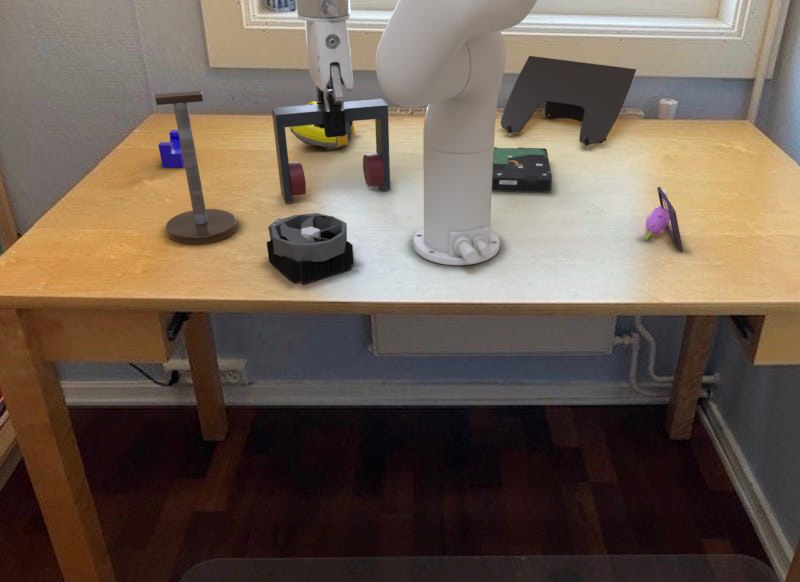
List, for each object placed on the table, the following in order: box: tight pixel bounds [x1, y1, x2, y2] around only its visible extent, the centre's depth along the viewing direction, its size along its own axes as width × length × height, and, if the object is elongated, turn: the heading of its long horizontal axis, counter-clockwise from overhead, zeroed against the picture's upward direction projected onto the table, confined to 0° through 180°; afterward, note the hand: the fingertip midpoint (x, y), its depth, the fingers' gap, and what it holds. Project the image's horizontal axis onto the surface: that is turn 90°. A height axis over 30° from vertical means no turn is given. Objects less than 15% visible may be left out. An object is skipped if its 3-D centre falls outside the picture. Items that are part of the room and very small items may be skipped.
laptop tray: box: [500, 55, 637, 150], centre depth 158 cm, size 23×23×9 cm
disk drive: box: [492, 146, 553, 193], centre depth 136 cm, size 10×3×15 cm
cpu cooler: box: [266, 212, 355, 285], centre depth 106 cm, size 10×6×10 cm
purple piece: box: [644, 186, 684, 252], centre depth 116 cm, size 7×5×9 cm
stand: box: [154, 90, 238, 246], centre depth 111 cm, size 10×10×20 cm
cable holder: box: [157, 129, 185, 169], centre depth 139 cm, size 8×4×4 cm, turn 1°
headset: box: [271, 98, 391, 203], centre depth 124 cm, size 5×17×14 cm, turn 111°
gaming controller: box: [289, 101, 355, 151], centre depth 148 cm, size 15×6×10 cm
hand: (332, 130), depth 123 cm, fingers closed on headset, 3 cm apart
